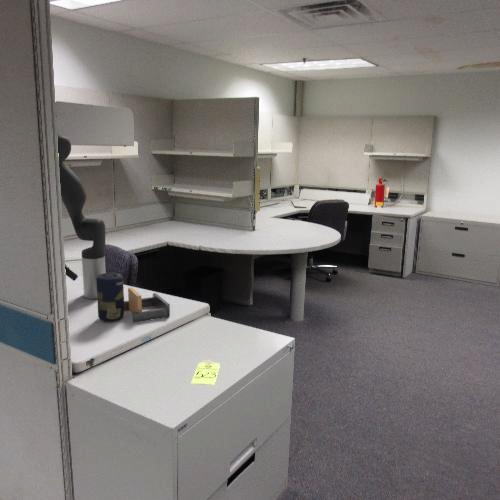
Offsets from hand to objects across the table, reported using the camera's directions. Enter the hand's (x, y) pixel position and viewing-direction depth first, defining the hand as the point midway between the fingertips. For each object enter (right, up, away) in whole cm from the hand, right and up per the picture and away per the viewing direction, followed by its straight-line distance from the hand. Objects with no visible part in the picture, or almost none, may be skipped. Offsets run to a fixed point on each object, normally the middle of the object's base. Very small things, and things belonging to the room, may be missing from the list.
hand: (75, 278), depth 169 cm
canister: (+10, -16, +10) cm, 21 cm away
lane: (+21, -15, +16) cm, 30 cm away
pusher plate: (+18, -15, +14) cm, 27 cm away
